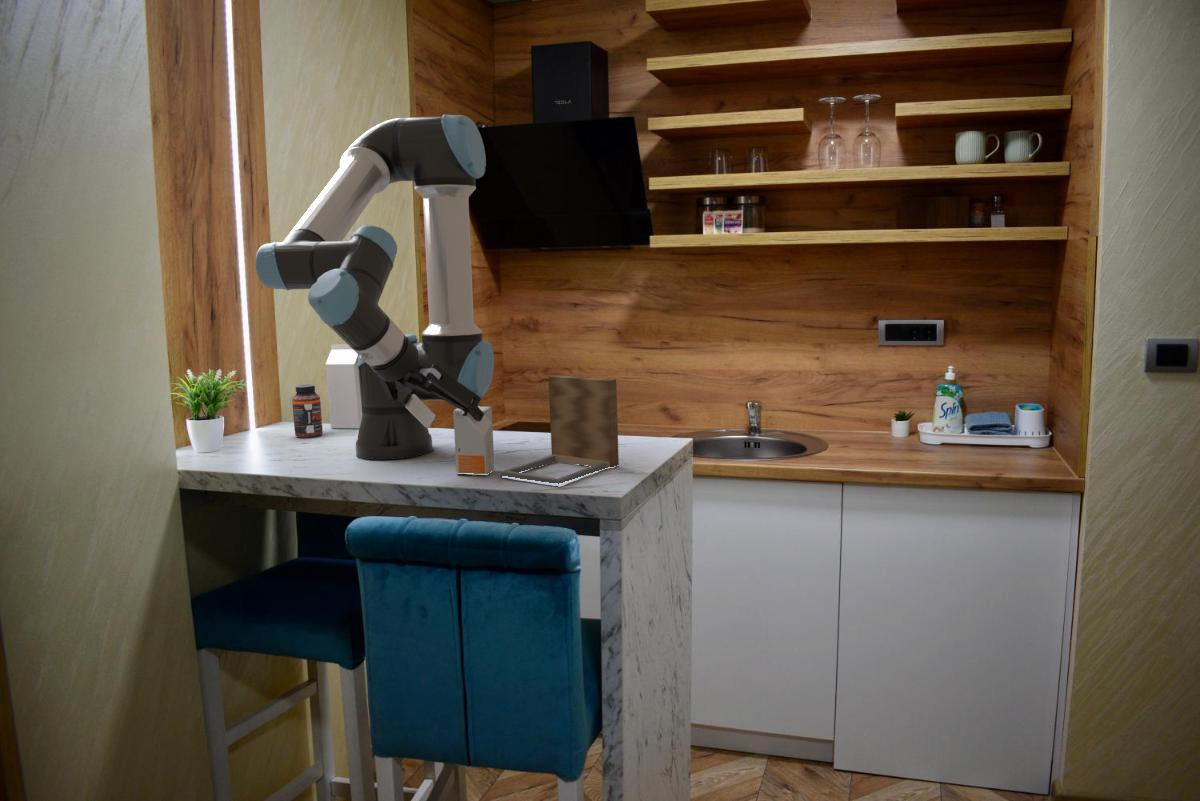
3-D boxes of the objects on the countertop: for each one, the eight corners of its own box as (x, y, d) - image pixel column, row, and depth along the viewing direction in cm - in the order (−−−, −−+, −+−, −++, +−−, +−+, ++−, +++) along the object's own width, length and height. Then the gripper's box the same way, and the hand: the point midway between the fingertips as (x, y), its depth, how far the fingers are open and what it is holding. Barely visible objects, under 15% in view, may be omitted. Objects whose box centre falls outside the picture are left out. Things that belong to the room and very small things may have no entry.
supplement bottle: (318, 438, 204) (313, 387, 202) (291, 438, 204) (286, 387, 202) (326, 432, 210) (322, 382, 208) (300, 433, 210) (295, 383, 208)
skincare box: (455, 475, 167) (451, 410, 165) (464, 470, 171) (460, 405, 169) (488, 476, 166) (484, 410, 164) (495, 470, 170) (492, 406, 168)
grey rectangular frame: (501, 478, 165) (500, 471, 164) (554, 460, 176) (553, 454, 176) (559, 487, 157) (558, 480, 157) (610, 468, 169) (610, 461, 169)
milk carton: (359, 429, 213) (352, 346, 209) (330, 428, 214) (323, 346, 211) (373, 422, 220) (366, 342, 216) (345, 422, 221) (338, 342, 218)
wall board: (551, 459, 177) (548, 376, 174) (558, 457, 178) (555, 375, 176) (612, 468, 169) (609, 381, 166) (618, 466, 170) (616, 379, 167)
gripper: (324, 364, 154) (399, 436, 169) (430, 372, 140) (502, 450, 154) (347, 329, 158) (418, 402, 172) (453, 334, 143) (521, 413, 158)
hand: (458, 425), depth 163 cm, fingers open, 13 cm apart
